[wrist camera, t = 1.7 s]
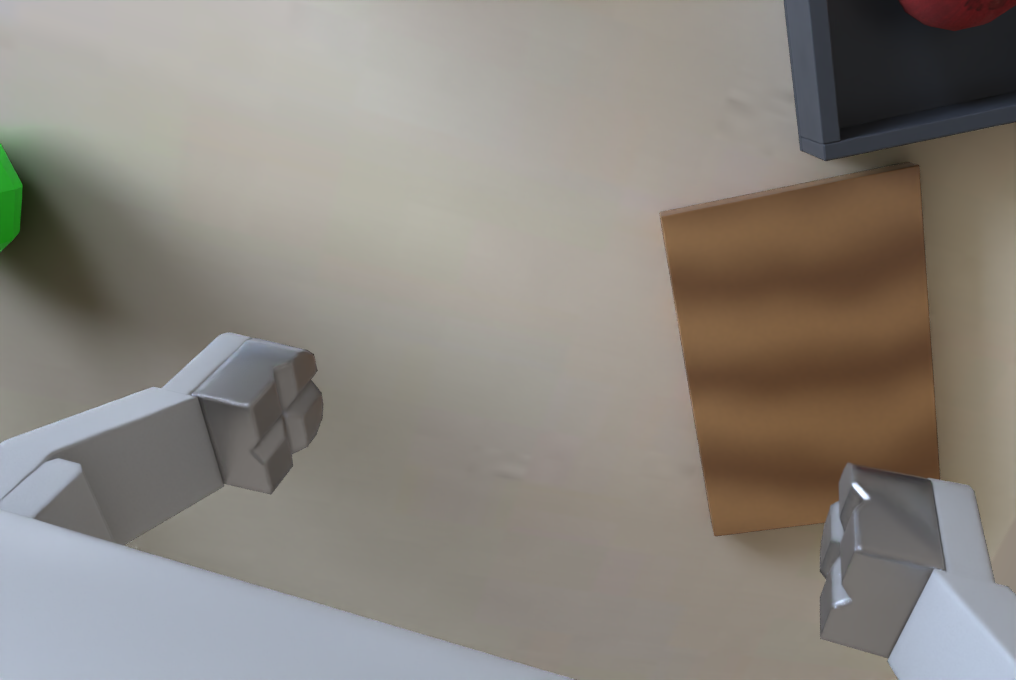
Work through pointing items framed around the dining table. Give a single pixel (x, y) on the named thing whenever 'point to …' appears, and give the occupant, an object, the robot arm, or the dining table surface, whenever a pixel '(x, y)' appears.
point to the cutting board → (804, 341)
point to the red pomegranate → (956, 12)
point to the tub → (894, 76)
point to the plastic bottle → (9, 201)
